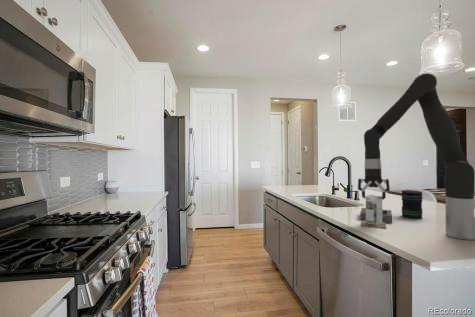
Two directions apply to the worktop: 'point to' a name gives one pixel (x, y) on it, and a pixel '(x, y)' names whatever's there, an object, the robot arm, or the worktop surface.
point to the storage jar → (412, 204)
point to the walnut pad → (373, 225)
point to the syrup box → (374, 209)
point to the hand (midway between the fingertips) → (373, 198)
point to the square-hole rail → (385, 215)
